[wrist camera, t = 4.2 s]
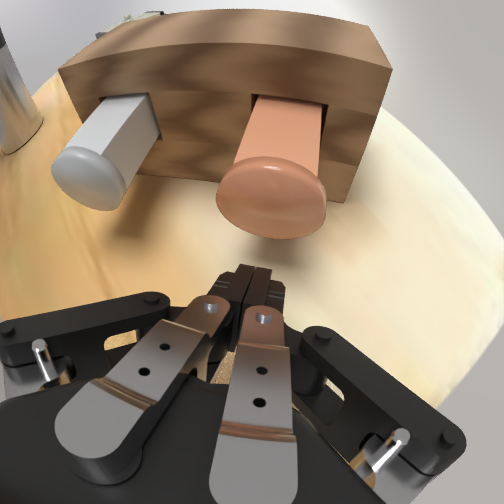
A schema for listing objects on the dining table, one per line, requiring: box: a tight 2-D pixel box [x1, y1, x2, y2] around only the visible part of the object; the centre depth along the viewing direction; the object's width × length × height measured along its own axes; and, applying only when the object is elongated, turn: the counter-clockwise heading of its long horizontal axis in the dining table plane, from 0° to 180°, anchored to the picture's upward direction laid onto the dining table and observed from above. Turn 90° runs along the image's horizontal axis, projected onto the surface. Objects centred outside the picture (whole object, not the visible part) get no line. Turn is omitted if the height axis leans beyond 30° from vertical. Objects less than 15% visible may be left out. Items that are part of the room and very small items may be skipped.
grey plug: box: [51, 92, 161, 211], centre depth 17 cm, size 6×11×6 cm, turn 168°
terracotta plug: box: [216, 94, 327, 239], centre depth 16 cm, size 6×11×6 cm, turn 168°
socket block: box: [58, 9, 393, 203], centre depth 20 cm, size 23×10×13 cm, turn 78°
